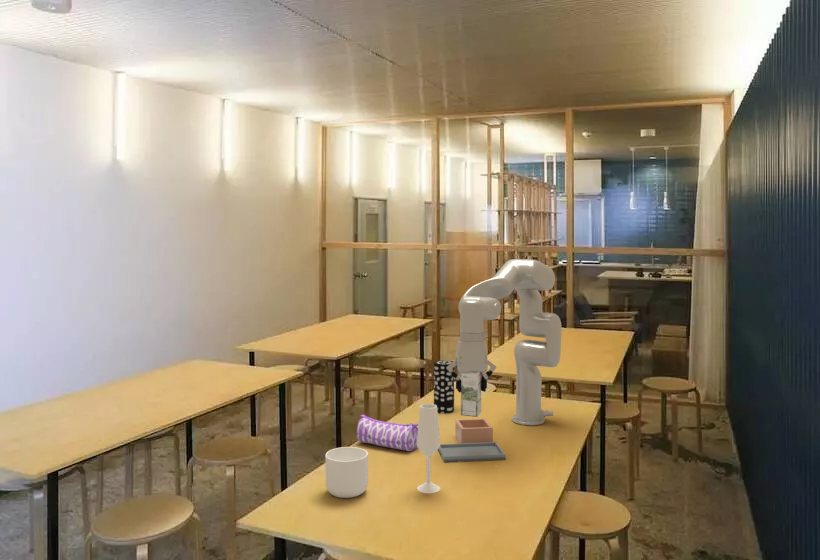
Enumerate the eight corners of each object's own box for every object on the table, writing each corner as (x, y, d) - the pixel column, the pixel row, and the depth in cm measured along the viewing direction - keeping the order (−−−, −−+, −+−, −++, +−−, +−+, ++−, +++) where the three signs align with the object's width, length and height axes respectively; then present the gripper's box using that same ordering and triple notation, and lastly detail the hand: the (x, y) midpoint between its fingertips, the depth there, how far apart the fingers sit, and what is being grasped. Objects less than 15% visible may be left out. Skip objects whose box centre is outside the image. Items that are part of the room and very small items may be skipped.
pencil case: (423, 446, 219) (423, 419, 218) (412, 455, 210) (412, 427, 210) (366, 438, 228) (366, 412, 227) (353, 446, 220) (353, 419, 219)
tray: (496, 447, 218) (496, 442, 218) (505, 459, 206) (505, 454, 206) (438, 449, 216) (438, 444, 215) (444, 462, 204) (444, 456, 204)
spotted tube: (452, 414, 257) (452, 365, 256) (432, 413, 259) (432, 364, 258) (455, 408, 266) (455, 360, 264) (435, 407, 267) (435, 360, 266)
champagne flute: (443, 491, 181) (443, 408, 179) (420, 494, 179) (420, 410, 177) (435, 482, 187) (436, 402, 185) (413, 485, 185) (413, 403, 183)
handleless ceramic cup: (341, 505, 172) (341, 464, 171) (317, 491, 181) (317, 452, 180) (376, 493, 179) (376, 454, 179) (352, 481, 189) (352, 444, 188)
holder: (485, 434, 231) (485, 418, 231) (492, 444, 220) (492, 427, 220) (455, 435, 230) (455, 419, 229) (461, 446, 219) (461, 428, 219)
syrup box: (481, 412, 212) (482, 369, 210) (477, 417, 206) (478, 373, 205) (464, 411, 213) (465, 368, 212) (460, 415, 208) (460, 371, 207)
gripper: (495, 335, 213) (494, 387, 214) (443, 336, 211) (443, 389, 212) (500, 338, 205) (500, 393, 206) (447, 339, 203) (447, 394, 204)
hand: (471, 390), depth 209 cm, fingers closed on syrup box, 7 cm apart
